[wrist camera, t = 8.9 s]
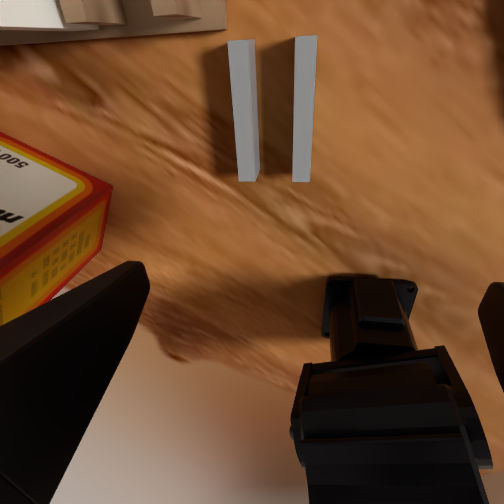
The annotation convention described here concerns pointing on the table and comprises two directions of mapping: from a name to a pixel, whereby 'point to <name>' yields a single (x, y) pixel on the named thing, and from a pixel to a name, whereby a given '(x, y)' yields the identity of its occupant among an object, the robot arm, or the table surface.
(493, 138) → the table surface
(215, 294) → the table surface
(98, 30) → the rack
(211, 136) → the table surface
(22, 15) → the white slim box
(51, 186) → the baking soda box
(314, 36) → the stand
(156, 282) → the table surface
